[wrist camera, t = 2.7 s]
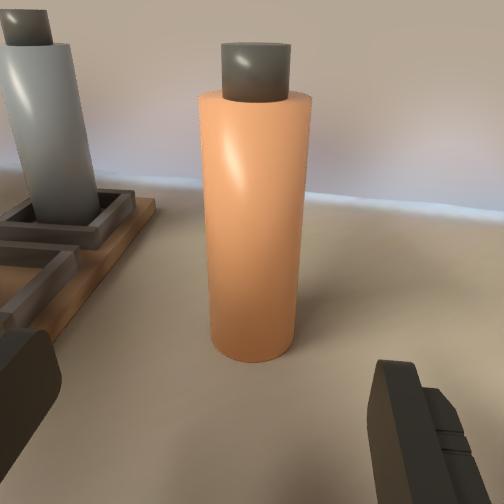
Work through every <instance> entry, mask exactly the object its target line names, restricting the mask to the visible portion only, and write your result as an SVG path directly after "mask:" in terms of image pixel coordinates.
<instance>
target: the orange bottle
mask: <svg viewBox="0 0 504 504" xmlns="http://www.w3.org/2000/svg"><path fill="white" fill-rule="evenodd" d="M290 53H291V45H290V44H282V43H224V44H221V58H222V90H217V91H212V92H207V93H204V94H202V95H200V96H199V114H200V134H201V153H202V172H203V191H204V210H205V229H206V249H207V268H208V287H209V306H210V325H211V339H212V342H213V344H214V346H215V347H216V348H217V349H218V350H219V351H220V352H221V353H222V354H224V355H225V356H227V357H229V358H231V359H234V360H238V361H242V362H264V361H268V360H271V359H274V358H276V357H278V356H280V355H282V354H283V353H284V352H286V351H287V350H288V348H289V347H290V346H291V344H292V342H293V338H294V326H295V313H296V300H297V287H298V274H299V261H300V248H301V236H302V223H303V210H304V197H305V184H306V171H307V157H308V145H309V132H310V118H311V106H312V98H311V96H309V95H306V94H303V93H299V92H294V91H289V72H290Z"/></svg>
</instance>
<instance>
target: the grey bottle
mask: <svg viewBox="0 0 504 504" xmlns="http://www.w3.org/2000/svg"><path fill="white" fill-rule="evenodd" d="M0 22H1V25H2V29H3V33H4V37H5V41H6V44H0V88H1V92H2V96H3V99H4V103H5V106H6V110H7V114H8V117H9V121H10V125H11V128H12V132H13V136H14V139H15V143H16V147H17V150H18V154H19V158H20V161H21V165H22V168H23V172H24V176H25V179H26V183H27V187H28V190H29V194H30V198H31V201H32V205H33V208H34V212H35V216H36V219H37V223H42V224H58V225H74V226H88V225H89V224H90V223H91V222H93V221H94V220H95V219H96V218H97V217H98V216H99V215H100V214H101V209H100V204H99V198H98V193H97V188H96V182H95V177H94V172H93V166H92V161H91V156H90V150H89V145H88V140H87V134H86V129H85V124H84V119H83V113H82V108H81V103H80V97H79V92H78V86H77V81H76V76H75V70H74V65H73V60H72V55H71V49H70V45H69V44H63V43H53V40H52V34H51V29H50V25H49V20H48V15H47V10H22V9H21V10H20V9H18V10H17V9H0Z"/></svg>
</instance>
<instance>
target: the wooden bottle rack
mask: <svg viewBox="0 0 504 504" xmlns="http://www.w3.org/2000/svg"><path fill="white" fill-rule="evenodd" d="M97 193H98V198H99V204H100V209H101V214H100V215H99V216H98V217H97V218H96V219H95V220H94V221H93V222H91V223H90V224H89V225H88V226H74V225H58V224H42V223H37V219H36V216H35V212H34V208H33V205H32V201H31V198H28V199H27V200H25V201H24V202H22V203H21V204H19V205H18V206H16V207H14V208H13V209H11V210H10V211H8V212H7V213H5V214H4V215H2V216H1V217H0V338H1V337H2V336H3V335H4V333H5V332H7V331H8V330H9V329H11V328H15V327H16V328H28V329H40V330H45V331H47V332H48V334H49V336H50V339H51V342H52V343H53V342H54V340H55V339H56V338H57V336H58V335H59V334H60V333H61V331H62V330H63V329H64V327H65V326H66V325H67V324H68V322H69V321H70V320H71V319H72V317H73V316H74V315H75V313H76V312H77V311H78V310H79V308H80V307H81V306H82V304H83V303H84V302H85V301H86V299H87V298H88V297H89V296H90V294H91V293H92V292H93V290H94V289H95V288H96V287H97V285H98V284H99V283H100V281H101V280H102V279H103V278H104V276H105V275H106V274H107V273H108V271H109V270H110V269H111V267H112V266H113V265H114V264H115V262H116V261H117V260H118V258H119V257H120V256H121V255H122V253H123V252H124V251H125V249H126V248H127V247H128V246H129V244H130V243H131V242H132V241H133V239H134V238H135V237H136V235H137V234H138V233H139V232H140V230H141V229H142V228H143V226H144V225H145V224H146V223H147V221H148V220H149V219H150V218H151V216H152V215H153V214H154V212H155V211H156V206H155V199H152V198H135V192H134V191H131V190H112V189H97Z"/></svg>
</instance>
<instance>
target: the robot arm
mask: <svg viewBox="0 0 504 504" xmlns="http://www.w3.org/2000/svg"><path fill="white" fill-rule="evenodd" d="M61 382H62V377H61V372H60V368H59V365H58V362H57V359H56V355H55V352H54V349H53V345H52V342H51V339H50V336H49V334H48V332H47V331H45V330H40V329H28V328H16V327H15V328H11V329H9V330H8V331H7V332H5V333H4V335H3V336H2V337H1V338H0V483H1V482H2V480H3V479H4V477H5V476H6V474H7V473H8V471H9V470H10V468H11V467H12V465H13V464H14V462H15V461H16V459H17V458H18V456H19V455H20V453H21V452H22V450H23V449H24V447H25V446H26V444H27V443H28V441H29V440H30V438H31V437H32V435H33V434H34V432H35V431H36V429H37V428H38V426H39V425H40V423H41V422H42V420H43V419H44V417H45V416H46V414H47V413H48V411H49V410H50V408H51V407H52V405H53V404H54V402H55V400H56V399H57V397H58V394H59V392H60V388H61ZM367 431H368V439H369V445H370V452H371V459H372V466H373V473H374V480H375V486H376V493H377V500H378V504H491V501H490V499H489V496H488V493H487V491H486V488H485V486H484V483H483V480H482V478H481V475H480V472H479V470H478V467H477V465H476V462H475V459H474V457H472V455H471V452H472V451H471V449H470V446H469V444H468V441H467V438H466V437H464V430H463V428H462V425H461V423H460V420H459V417H458V415H457V412H456V409H455V408H454V407H453V406H452V404H451V403H450V402H449V401H448V400H447V399H446V397H445V396H444V395H443V394H442V393H441V392H440V390H439V389H436V388H425V387H422V386H421V383H420V380H419V376H418V373H417V370H416V367H415V365H414V364H413V363H412V362H403V361H392V360H378V361H377V364H376V368H375V373H374V378H373V383H372V387H371V392H370V397H369V402H368V408H367Z"/></svg>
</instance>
